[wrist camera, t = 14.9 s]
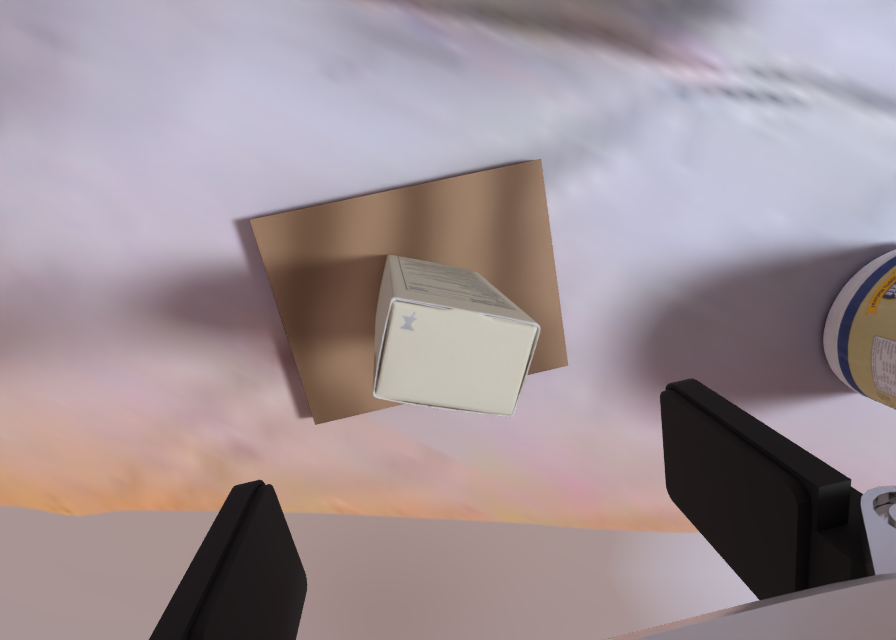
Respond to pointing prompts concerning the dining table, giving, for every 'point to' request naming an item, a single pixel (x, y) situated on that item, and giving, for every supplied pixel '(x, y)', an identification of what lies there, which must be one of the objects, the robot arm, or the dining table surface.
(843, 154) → the dining table surface
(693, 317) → the dining table surface
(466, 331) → the skincare box
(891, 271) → the supplement tub
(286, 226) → the walnut board
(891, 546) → the robot arm
